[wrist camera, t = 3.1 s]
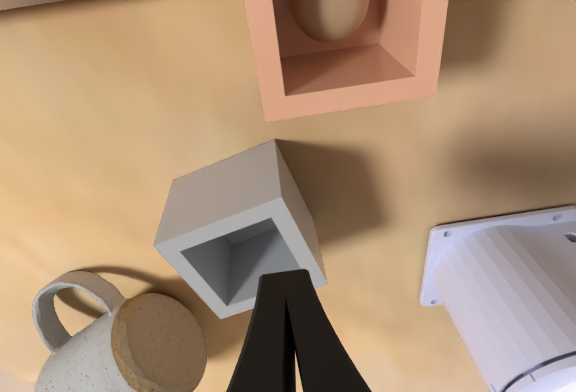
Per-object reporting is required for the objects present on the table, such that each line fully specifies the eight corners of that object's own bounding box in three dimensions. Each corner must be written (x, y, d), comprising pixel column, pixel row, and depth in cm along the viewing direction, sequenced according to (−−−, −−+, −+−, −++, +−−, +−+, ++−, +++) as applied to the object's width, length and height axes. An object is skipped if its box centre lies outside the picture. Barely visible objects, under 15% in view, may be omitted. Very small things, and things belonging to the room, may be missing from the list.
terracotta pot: (398, -117, 13) (465, -137, 9) (391, 55, 17) (436, 95, 13) (233, -91, 13) (226, -99, 9) (261, 75, 17) (265, 121, 13)
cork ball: (359, -55, 13) (379, -46, 11) (359, 25, 15) (376, 46, 13) (284, -43, 13) (290, -32, 11) (292, 35, 15) (299, 58, 13)
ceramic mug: (220, 313, 27) (209, 427, 20) (152, 359, 30) (125, 472, 23) (86, 239, 22) (19, 360, 15) (20, 303, 25) (-59, 428, 18)
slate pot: (274, 139, 19) (281, 196, 15) (313, 219, 22) (327, 283, 18) (172, 180, 20) (153, 245, 16) (225, 251, 23) (220, 319, 19)
